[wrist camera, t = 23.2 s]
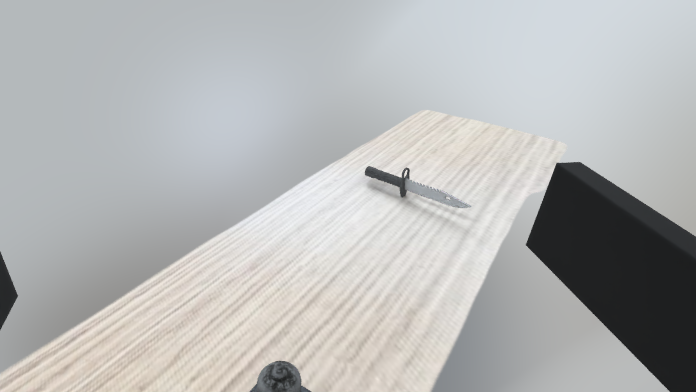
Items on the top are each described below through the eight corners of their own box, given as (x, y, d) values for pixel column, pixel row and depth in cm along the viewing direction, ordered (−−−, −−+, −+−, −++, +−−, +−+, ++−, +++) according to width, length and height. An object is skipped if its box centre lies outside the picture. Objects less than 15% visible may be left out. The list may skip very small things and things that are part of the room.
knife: (472, 217, 66) (478, 188, 64) (466, 223, 64) (472, 194, 62) (370, 179, 76) (372, 153, 74) (362, 184, 74) (364, 157, 72)
